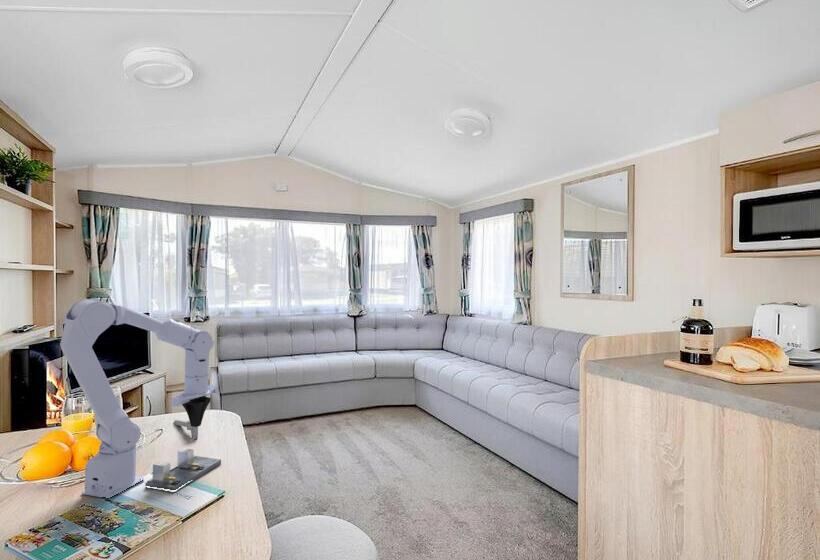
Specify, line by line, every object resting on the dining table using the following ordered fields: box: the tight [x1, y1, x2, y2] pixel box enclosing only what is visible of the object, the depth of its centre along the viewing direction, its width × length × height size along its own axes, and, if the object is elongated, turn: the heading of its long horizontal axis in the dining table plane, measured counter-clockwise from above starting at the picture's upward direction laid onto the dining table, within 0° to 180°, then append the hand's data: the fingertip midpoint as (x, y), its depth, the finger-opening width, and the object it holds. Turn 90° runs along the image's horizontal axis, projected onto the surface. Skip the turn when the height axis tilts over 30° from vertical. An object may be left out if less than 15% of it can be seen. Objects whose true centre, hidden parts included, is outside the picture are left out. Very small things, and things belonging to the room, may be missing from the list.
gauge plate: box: [144, 455, 222, 490], centre depth 107 cm, size 16×8×5 cm, turn 166°
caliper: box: [173, 419, 199, 440], centre depth 138 cm, size 20×1×6 cm, turn 45°
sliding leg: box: [177, 447, 200, 469], centre depth 109 cm, size 2×5×4 cm, turn 76°
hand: (195, 425), depth 116 cm, fingers closed
